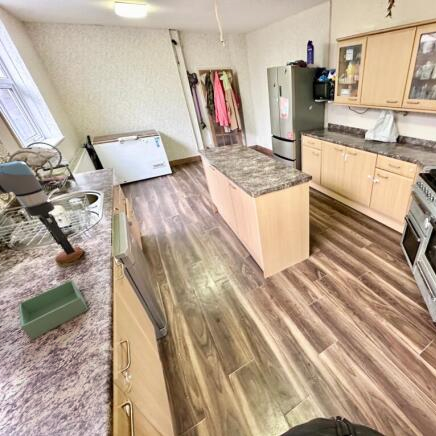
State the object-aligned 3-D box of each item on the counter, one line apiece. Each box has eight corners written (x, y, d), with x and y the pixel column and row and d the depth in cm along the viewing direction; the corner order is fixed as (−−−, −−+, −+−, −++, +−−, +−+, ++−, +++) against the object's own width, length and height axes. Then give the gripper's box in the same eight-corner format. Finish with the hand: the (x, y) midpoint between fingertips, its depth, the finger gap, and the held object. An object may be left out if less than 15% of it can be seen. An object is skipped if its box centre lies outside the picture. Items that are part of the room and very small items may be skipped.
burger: (53, 269, 97) (46, 260, 95) (67, 255, 105) (62, 247, 103) (79, 265, 98) (73, 256, 96) (91, 252, 106) (86, 244, 104)
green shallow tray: (28, 315, 76) (18, 303, 74) (79, 290, 85) (72, 279, 82) (32, 339, 68) (20, 327, 66) (88, 309, 77) (80, 298, 74)
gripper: (57, 206, 84) (86, 252, 95) (42, 193, 98) (68, 235, 108) (29, 214, 79) (63, 263, 90) (17, 200, 93) (47, 243, 103)
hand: (66, 248), depth 99 cm, fingers open, 13 cm apart
